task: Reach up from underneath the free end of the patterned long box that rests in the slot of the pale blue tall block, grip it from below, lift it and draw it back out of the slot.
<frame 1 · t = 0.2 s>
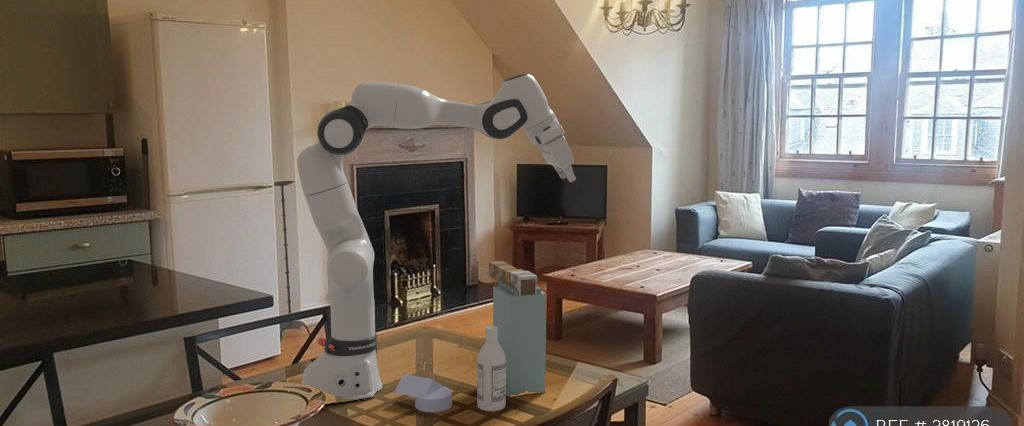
hand: (568, 179, 203), 54 cm above the table, tool tilted 30°, fingers open, 8 cm apart
bath foam: (491, 407, 192), on the table
patterned long box: (511, 284, 207), point 26 cm above the table, touching pale blue tall block
pale blue tall block: (518, 386, 205), on the table
wedge on round base: (426, 404, 193), on the table
video game controller: (361, 353, 233), on the table
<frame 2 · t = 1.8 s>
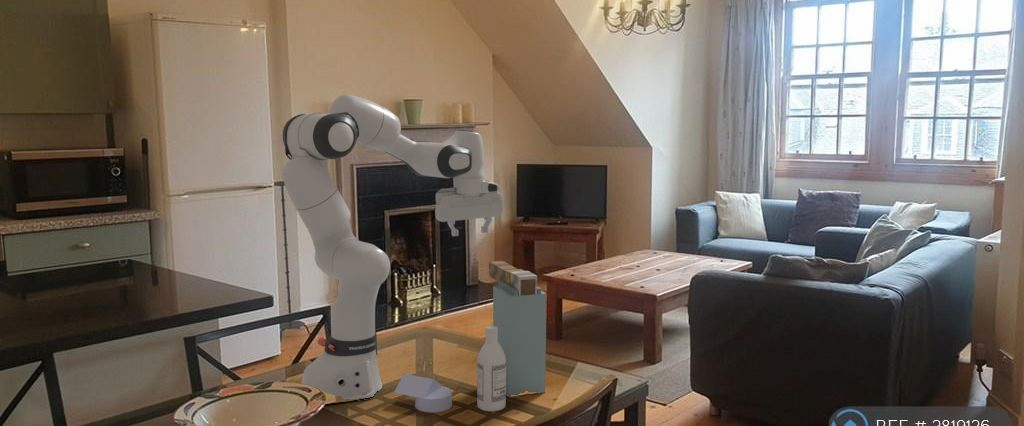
hand: (470, 234, 226), 36 cm above the table, tool pointing down, fingers open, 8 cm apart
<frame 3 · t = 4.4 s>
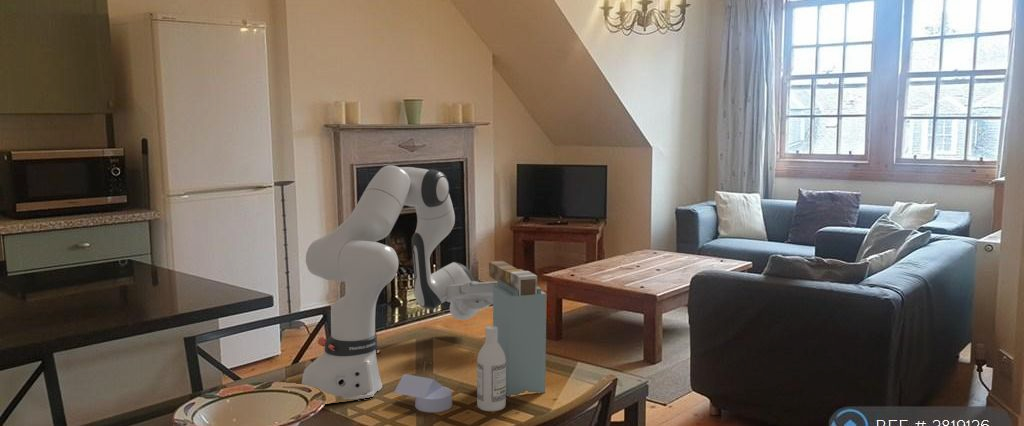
hand: (485, 283, 227), 22 cm above the table, tool pointing upward, fingers open, 8 cm apart
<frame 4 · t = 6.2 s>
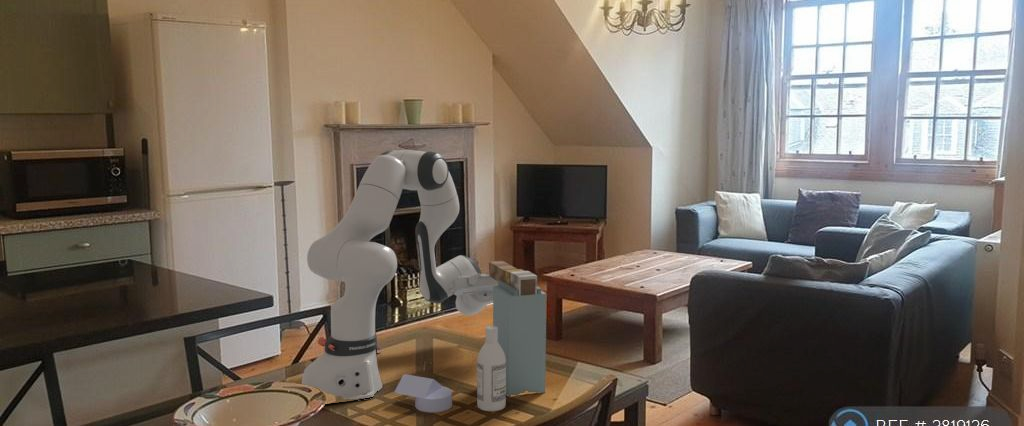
hand: (494, 274, 219), 26 cm above the table, tool pointing upward, fingers open, 8 cm apart
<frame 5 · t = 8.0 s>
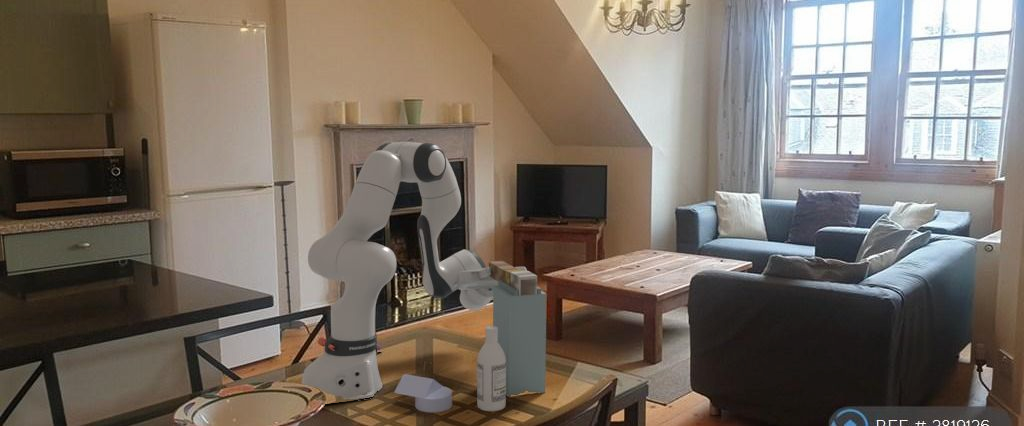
hand: (499, 269, 215), 28 cm above the table, tool pointing upward, fingers closed on patterned long box, 4 cm apart
patterned long box: (510, 284, 207), point 26 cm above the table, touching pale blue tall block, gripper
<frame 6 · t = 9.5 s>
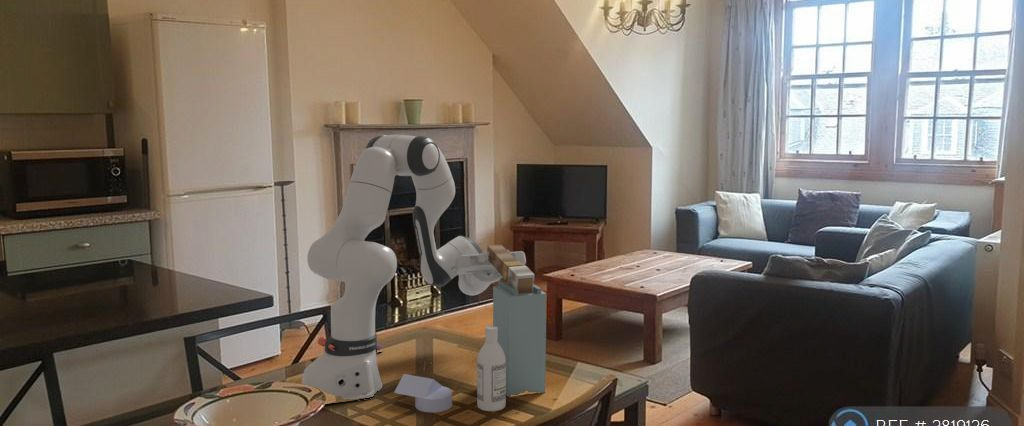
hand: (497, 253, 216), 33 cm above the table, tool pointing upward, fingers closed on patterned long box, 4 cm apart
patterned long box: (508, 274, 209), point 28 cm above the table, tilted 11°, touching gripper
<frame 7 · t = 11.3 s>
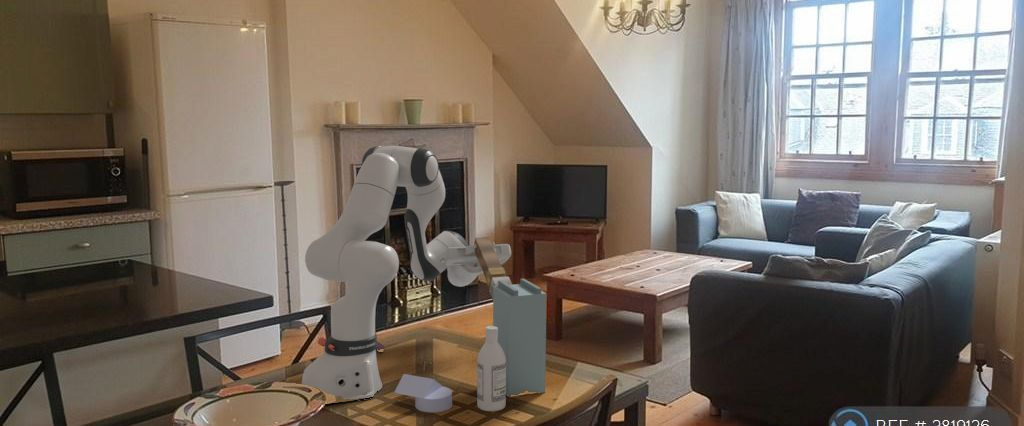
hand: (484, 245, 227), 33 cm above the table, tool pointing upward, fingers closed on patterned long box, 4 cm apart
patterned long box: (491, 275, 222), point 25 cm above the table, tilted 30°, touching gripper
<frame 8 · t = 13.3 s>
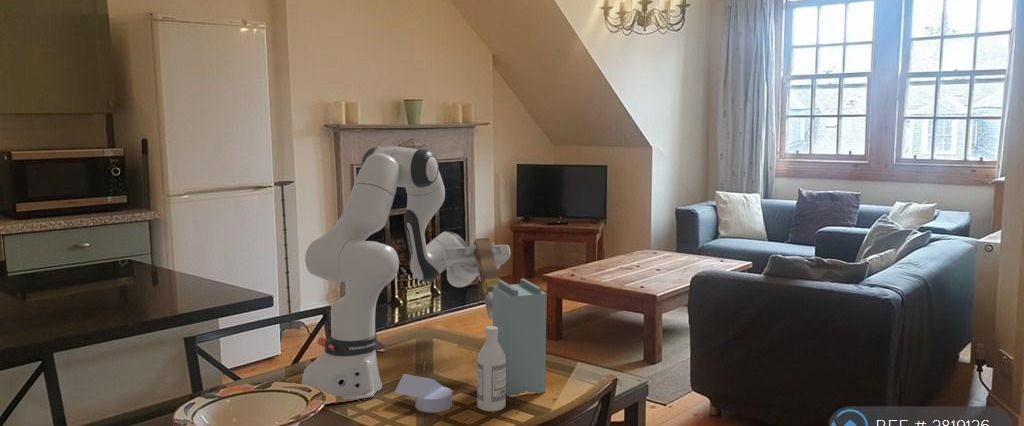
hand: (483, 246, 227), 32 cm above the table, tool pointing upward, fingers closed on patterned long box, 4 cm apart
patterned long box: (487, 281, 225), point 23 cm above the table, tilted 48°, touching gripper
at the end: patterned long box moved 19.0 cm from its start; patterned long box touching gripper; the gripper is holding patterned long box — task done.
